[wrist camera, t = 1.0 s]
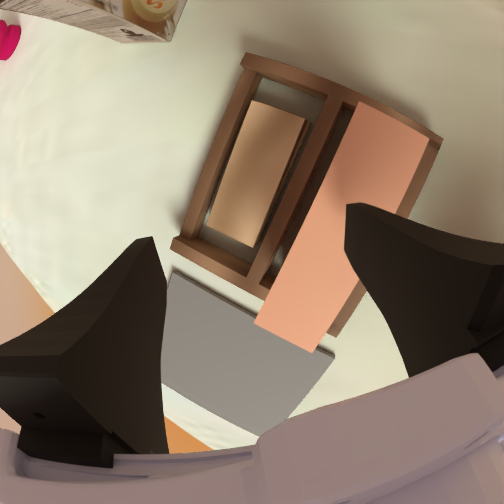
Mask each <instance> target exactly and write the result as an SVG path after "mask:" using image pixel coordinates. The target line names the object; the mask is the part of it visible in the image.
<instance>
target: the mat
mask: <svg viewBox="0 0 504 504" xmlns="http://www.w3.org/2000/svg"><path fill="white" fill-rule="evenodd" d="M256 317H257V316H256V315H254V314H252V313H251V312H249V311H247V310H245V309H243V308H241V307H239V306H238V305H236V304H234V303H232V302H230V301H228V300H227V299H225V298H223V297H221V296H219V295H218V294H216V293H214V292H212V291H210V290H209V289H207V288H205V287H203V286H202V285H200V284H198V283H196V282H195V281H193V280H191V279H189V278H188V277H186V276H184V275H182V274H181V273H179V272H177V271H176V270H175V271H174V272H172V276H171V279H170V282H169V285H168V289H167V307H166V316H165V324H164V333H163V341H162V351H161V383H163V384H165V385H166V386H168V387H169V388H171V389H173V390H174V391H176V392H177V393H179V394H181V395H182V396H184V397H186V398H187V399H189V400H191V401H192V402H194V403H196V404H198V405H199V406H201V407H203V408H205V409H206V410H208V411H210V412H212V413H214V414H215V415H217V416H219V417H221V418H223V419H225V420H227V421H229V422H231V423H233V424H235V425H236V426H238V427H240V428H242V429H245V430H247V431H249V432H251V433H253V434H255V435H257V436H259V437H260V436H261V435H262V434H263V433H265V432H266V431H268V430H270V429H271V428H273V427H275V426H276V425H278V424H279V423H281V422H283V421H284V420H286V419H287V418H288V417H289V415H290V414H291V413H292V412H293V411H294V410H295V408H296V407H297V406H298V405H299V404H300V402H301V401H302V400H303V399H304V398H305V396H306V395H307V394H308V393H309V391H310V390H311V389H312V388H313V386H314V385H315V384H316V383H317V381H318V380H319V379H320V378H321V376H322V375H323V374H324V372H325V371H326V370H327V368H328V367H329V366H330V364H331V363H332V362H333V360H334V359H335V355H333V354H331V353H329V352H327V351H325V350H322V349H320V348H318V347H316V348H315V350H314V351H313V353H311V352H309V351H307V350H305V349H303V348H301V347H299V346H297V345H295V344H293V343H291V342H289V341H287V340H285V339H283V338H281V337H279V336H277V335H275V334H273V333H271V332H269V331H268V330H266V329H264V328H262V327H260V326H258V325H256V324H254V321H255V319H256Z"/></svg>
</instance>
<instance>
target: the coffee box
mask: <svg viewBox="0 0 504 504" xmlns="http://www.w3.org/2000/svg"><path fill="white" fill-rule="evenodd" d="M186 1H187V0H0V9H4V10H10V11H15V12H20V13H25V14H29V15H34V16H38V17H42V18H47V19H50V20H54V21H58V22H61V23H65V24H68V25H71V26H75V27H78V28H81V29H84V30H87V31H91V32H93V33H96V34H99V35H102V36H105V37H108V38H111V39H113V40H116V41H118V42H121V43H140V42H170V41H171V39H172V36H173V33H174V31H175V28H176V25H177V23H178V20H179V18H180V15H181V13H182V10H183V8H184V5H185V3H186Z"/></svg>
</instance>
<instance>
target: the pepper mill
mask: <svg viewBox="0 0 504 504" xmlns="http://www.w3.org/2000/svg"><path fill="white" fill-rule="evenodd" d="M20 34H21V28H20V26H16V25H9V26H8V27H7V24H6V22H5V21H3V20H0V60H7V59H8V58H9V57H10V56H11V55H12V54H13V52H14V50H15V48H16V46H17V44H18V41H19V38H20Z"/></svg>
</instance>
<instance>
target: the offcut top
mask: <svg viewBox="0 0 504 504" xmlns="http://www.w3.org/2000/svg"><path fill="white" fill-rule="evenodd" d="M306 123H307V120H306V119H305V118H302V117H299V116H297V115H294V114H291V113H289V112H286V111H283V110H280V109H277V108H274V107H271V106H269V105H266V104H262V103H259V102H256V101H253V100H252V101H251V104H250V107H249V109H248V112H247V114H246V117H245V119H244V122H243V124H242V127H241V130H240V132H239V135H238V138H237V140H236V143H235V146H234V148H233V151H232V154H231V156H230V159H229V162H228V165H227V167H226V170H225V173H224V176H223V178H222V181H221V184H220V187H219V190H218V193H217V196H216V198H215V201H214V204H213V207H212V210H211V213H210V216H209V219H208V222H207V225H206V226H208V227H210V228H213V229H215V230H217V231H219V232H221V233H223V234H225V235H227V236H229V237H231V238H233V239H235V240H237V241H240V242H242V243H244V244H246V245H248V246H250V247H252V248H253V247H254V246H256V245H257V244H258V241H259V239H260V237H261V234H262V232H263V229H264V227H265V224H266V222H267V219H268V217H269V214H270V212H271V210H272V207H273V205H274V202H275V200H276V197H277V195H278V192H279V190H280V187H281V185H282V182H283V180H284V178H285V175H286V173H287V170H288V168H289V165H290V163H291V160H292V158H293V155H294V153H295V150H296V148H297V146H298V143H299V141H300V138H301V136H302V133H303V131H304V128H305V126H306Z"/></svg>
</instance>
